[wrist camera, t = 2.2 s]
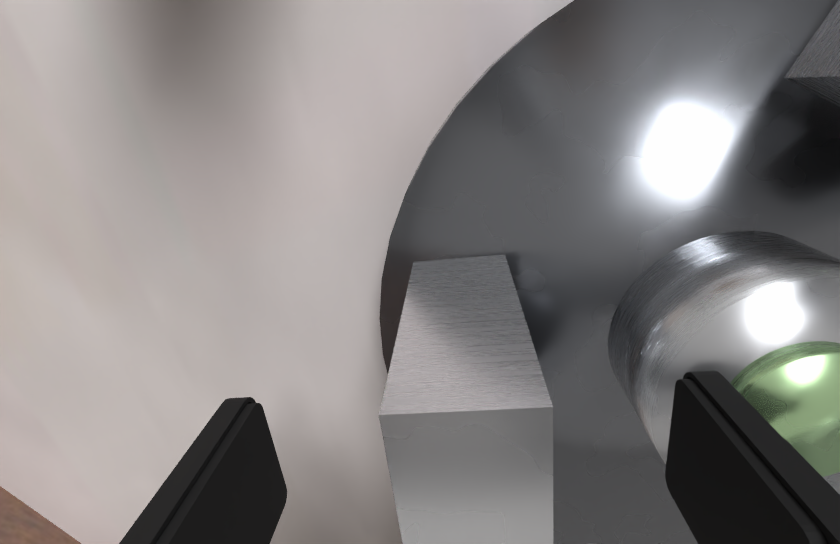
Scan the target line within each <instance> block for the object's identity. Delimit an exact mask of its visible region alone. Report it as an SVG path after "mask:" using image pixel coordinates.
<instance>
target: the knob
mask: <svg viewBox="0 0 840 544" xmlns="http://www.w3.org/2000/svg"><path fill="white" fill-rule="evenodd" d="M784 78H785V79H787V80H789V81H791V82H793V83H795V84H797V85H799V86H801V87H802V88H804V89H806V90H808V91H810V92H812V93H814V94H816V95H818V96H820V97H822V98H824V99H826V100H828V101H830V102H832V103H833V104H835V105H837V106H839V107H840V0H838V2H837V3H836V4H835V6H834V7H833V9H832V10H831V11H830V13H829V14H828V16H827V17H826V19H825V20H824V21H823V23H822V24H821V26H820V27H819V29H818V30H817V31H816V33H815V34H814V36H813V37H812V39H811V40H810V41H809V43H808V44H807V46H806V47H805V49H804V50H803V51H802V53H801V54H800V56H799V57H798V58H797V60H796V61H795V63H794V64H793V66H792V67H791V68H790V70H789V71H788V73H787V74H786V76H785V77H784Z"/></svg>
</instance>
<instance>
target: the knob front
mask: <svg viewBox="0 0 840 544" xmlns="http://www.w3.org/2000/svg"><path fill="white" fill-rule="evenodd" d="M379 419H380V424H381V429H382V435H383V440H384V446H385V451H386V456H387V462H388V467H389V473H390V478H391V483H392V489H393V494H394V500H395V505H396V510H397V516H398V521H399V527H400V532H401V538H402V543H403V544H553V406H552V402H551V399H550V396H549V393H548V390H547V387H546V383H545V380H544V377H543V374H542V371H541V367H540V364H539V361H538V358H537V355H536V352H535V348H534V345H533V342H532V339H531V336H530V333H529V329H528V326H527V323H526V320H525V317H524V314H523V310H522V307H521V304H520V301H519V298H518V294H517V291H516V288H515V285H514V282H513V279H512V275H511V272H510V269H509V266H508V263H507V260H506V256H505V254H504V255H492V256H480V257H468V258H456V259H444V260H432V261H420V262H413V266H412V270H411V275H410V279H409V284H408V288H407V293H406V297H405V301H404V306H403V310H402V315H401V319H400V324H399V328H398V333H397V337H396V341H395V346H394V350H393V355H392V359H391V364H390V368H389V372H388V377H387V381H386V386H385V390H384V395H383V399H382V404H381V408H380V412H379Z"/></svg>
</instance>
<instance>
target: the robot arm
mask: <svg viewBox="0 0 840 544" xmlns="http://www.w3.org/2000/svg"><path fill="white" fill-rule="evenodd" d="M665 479H666V484H667V487H668V490H669V492H670V494H671V496H672V498H673V499H674V501H675V503H676V505H677V507H678V508H679V510H680V512H681V514H682V516H683V517H684V519H685V521H686V523H687V525H688V527H689V528H690V530H691V532H692V534H693V536H694V537H695V539H696V541H697V543H698V544H840V495H839V493H838V492H837V491H836V490H835V489H834V488H833V487H832V486H831V485H830V484H829V483H828V482H827V481H826V480H825V479H824V478H823V477H822V476H821V475H820V474H819V473H818V472H817V471H816V470H815V469H814V468H813V467H812V466H811V465H810V464H809V463H808V462H807V461H806V460H805V459H804V458H803V457H802V455H801V454H800V453H799V452H798V451H797V450H796V449H795V448H794V447H793V446H792V445H791V444H790V443H789V442H788V441H787V440H785V439H784V438H783V437H782V436H781V435H780V434H779V433H778V432H777V431H776V430H775V429H774V428H773V427H772V426H771V425H770V424H769V423H768V422H767V421H766V420H765V419H764V418H763V417H762V416H761V415H760V414H759V413H758V411H757V410H756V409H755V408H754V407H753V406H752V405H751V404H750V403H749V402H748V401H747V400H746V399H745V398H744V397H743V396H742V395H741V394H740V393H739V392H738V391H737V390H736V389H735V388H734V387H733V386H732V385H731V384H730V383H729V382H728V381H727V380H726V378H725V377H724V376H723V375H722V374H720V373H719V372H718V371H714V370H712V371H695V372H687V373H685V374H684V376H683V379H679V380H677V381H676V384H675V390H674V399H673V408H672V417H671V426H670V434H669V443H668V452H667V461H666V470H665ZM286 498H287V488H286V484H285V481H284V478H283V474H282V471H281V467H280V464H279V461H278V457H277V454H276V451H275V447H274V444H273V440H272V437H271V434H270V430H269V427H268V424H267V420H266V417H265V413H264V410H263V407H262V405H261V404H260V403H256V402H255V400H254V399H253V398H251V397H246V398H229V399H226V400H225V401H224V402H223V403H222V404H221V406H220V407H219V408H218V410H217V411H216V412H215V414H214V415H213V416H212V418H211V419H210V421H209V422H208V423H207V425H206V426H205V427H204V429H203V430H202V431H201V433H200V434H199V436H198V437H197V438H196V440H195V441H194V442H193V444H192V445H191V446H190V448H189V449H188V451H187V452H186V453H185V455H184V456H183V457H182V459H181V460H180V461H179V463H178V464H177V466H176V467H175V468H174V470H173V471H172V472H171V474H170V475H169V476H168V478H167V479H166V481H165V482H164V483H163V485H162V486H161V487H160V489H159V490H158V491H157V493H156V494H155V496H154V497H153V498H152V500H151V501H150V502H149V504H148V505H147V506H146V508H145V509H144V511H143V512H142V513H141V515H140V516H139V517H138V519H137V520H136V521H135V523H134V524H133V526H132V527H131V528H130V530H129V531H128V532H127V534H126V535H125V536H124V538H123V539H122V541H121V542H120V543H119V544H270V541H271V539H272V536H273V534H274V531H275V529H276V526H277V524H278V521H279V519H280V516H281V514H282V511H283V509H284V506H285V503H286Z"/></svg>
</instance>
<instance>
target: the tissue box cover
mask: <svg viewBox="0 0 840 544" xmlns="http://www.w3.org/2000/svg"><path fill="white" fill-rule="evenodd" d="M0 544H81V543H80V542H78V541H77V540H75V539H74V538H73V537H71V536H70V535H68V534H67V533H66V532H64V531H63V530H61V529H60V528H58V527H57V526H56V525H54V524H53V523H51V522H50V521H49V520H47V519H46V518H44V517H43V516H41V515H40V514H39V513H37V512H36V511H34V510H33V509H32V508H30V507H29V506H27V505H26V504H25V503H23V502H22V501H20V500H19V499H17V498H16V497H15V496H13V495H12V494H10V493H9V492H8V491H6V490H5V489H3V488H2V487H0Z"/></svg>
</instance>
